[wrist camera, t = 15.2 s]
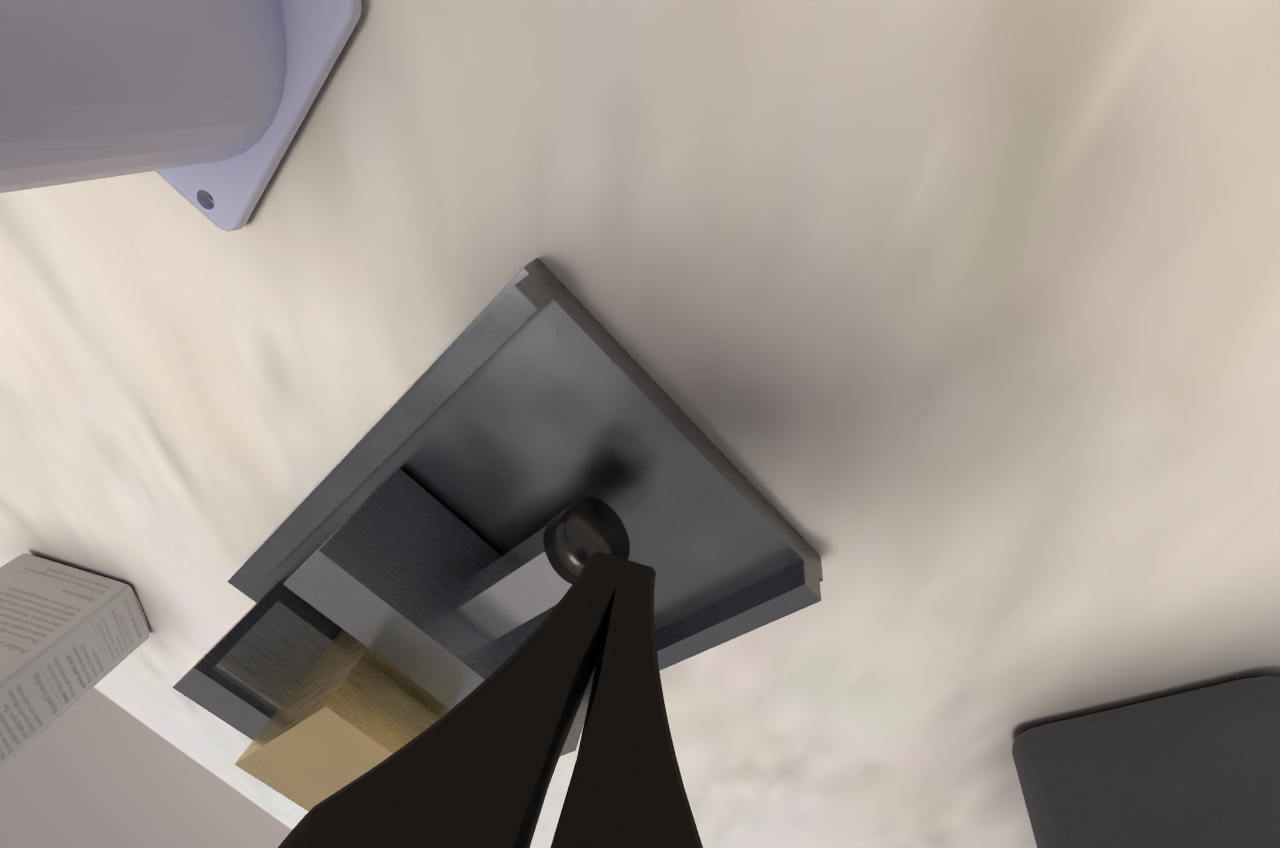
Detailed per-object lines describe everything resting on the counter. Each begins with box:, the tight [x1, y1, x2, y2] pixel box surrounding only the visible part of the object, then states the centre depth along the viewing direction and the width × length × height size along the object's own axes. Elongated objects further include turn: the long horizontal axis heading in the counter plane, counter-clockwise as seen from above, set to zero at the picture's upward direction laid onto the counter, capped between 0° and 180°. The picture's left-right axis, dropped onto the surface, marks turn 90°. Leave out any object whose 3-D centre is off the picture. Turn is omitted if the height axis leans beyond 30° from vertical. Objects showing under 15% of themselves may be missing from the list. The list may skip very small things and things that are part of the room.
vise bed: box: [173, 258, 823, 740], centre depth 20 cm, size 13×21×5 cm, turn 134°
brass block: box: [235, 629, 451, 811], centre depth 21 cm, size 4×7×6 cm, turn 134°
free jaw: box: [283, 468, 630, 756], centre depth 18 cm, size 10×8×4 cm
